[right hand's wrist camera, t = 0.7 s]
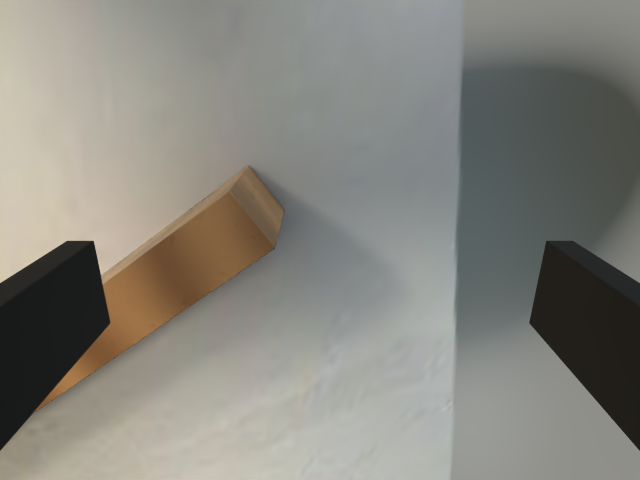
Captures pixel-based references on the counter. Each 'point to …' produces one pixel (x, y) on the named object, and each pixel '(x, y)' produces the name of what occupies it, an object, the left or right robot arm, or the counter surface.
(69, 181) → the counter surface
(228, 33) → the counter surface
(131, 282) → the bar
